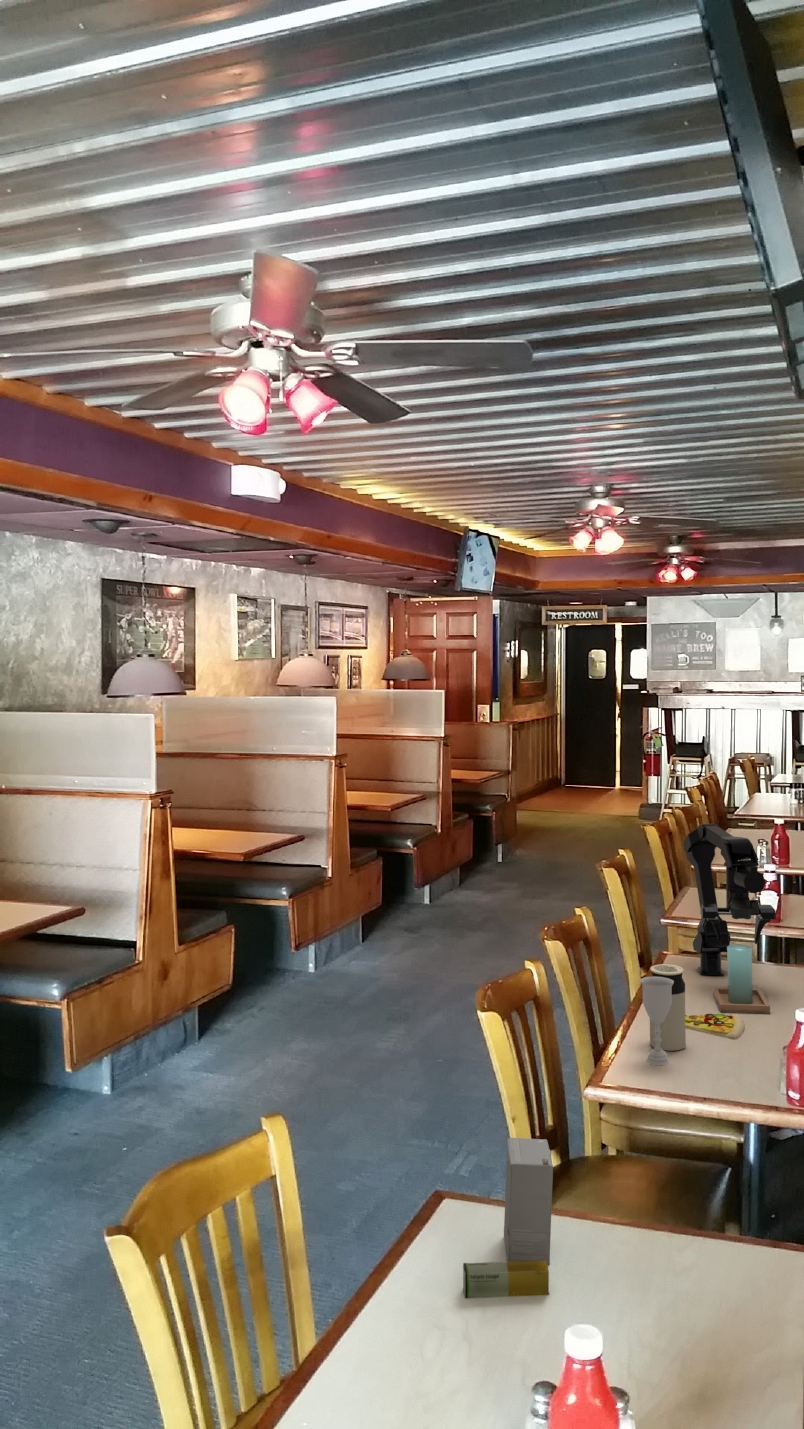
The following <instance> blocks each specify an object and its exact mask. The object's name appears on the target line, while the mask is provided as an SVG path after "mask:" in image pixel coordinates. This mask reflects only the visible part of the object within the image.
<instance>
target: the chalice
mask: <svg viewBox="0 0 804 1429" xmlns="http://www.w3.org/2000/svg"><path fill="white" fill-rule="evenodd" d="M639 981H640V983H641V985H642V1004H643V1007H644V1009H645V1012H646V1014H647V1016H648V1018H649V1021H650V1020H651V1021H652V1022H654V1023H655V1030H654V1032H655V1038H654V1039H653V1040H654V1041H655V1044H656V1045H655V1047H653V1048H652V1049H651V1050H649V1052H648V1054H647V1058H646V1060H645V1061H646V1063H647V1064H650V1065H653V1066H666V1065H669V1064H670V1060H669V1057H668V1055H667V1051H664V1050H662V1049H661V1048H660V1041H662V1039H661V1038H660V1033H661V1030H660V1023H662V1022H664V1020H665V1018H666V1016H667V1014H668V1013H669V1010H670V1007H671V1004H672V985H673V983H674V981H673V980H671V979H669V978H664V977H652V976H645V977H642V978H640V980H639Z"/></svg>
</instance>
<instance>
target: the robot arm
mask: <svg viewBox="0 0 804 1429" xmlns="http://www.w3.org/2000/svg"><path fill="white" fill-rule="evenodd" d="M682 847H683V850H684V852H685V855H686V859H687V860H688V862H689V863H690V864H691V865H692V866H693V868H694V876H695V882H696V890H697V895H698V896H697V897H698V902H699V910H700V912H699V913H700V915H701V918H700V921H699V923H698V924H697V927H696V928H697V934H696V935H695V938H694V939H693V941H692V948H693V951H695V952H696V953H698V954H699V956H700V957H699V958H700V960H699V961H700V962H699V963H700V966H699V967H697V970H698V973H699V975H700V976H722V977H723V976H725V973H724V971H723V968H722V953H727V946H729V945H731V944H730V943H731V935H730V932H729V928H728V922H727V921H726V920H725V919H724V920H723V919H722V917H721V915H722V916H724V915H725V916H731V919H734V920H740V919H741V920H742V919H744V920H750V919H751V918H752V916H755V924H754V935H753V936H754V940H753V941H754V944H755V945H757V944H758V942H759V939H760V936H761V934H762V931H763V930H764V927H765V925H766V924H767V923H771V920H773V921H775V920H776V919H777V912H776V911H777V910H776V909H775V908H774V907H773V906H772V905H771V904H760V903H759V900H758V899H750V897H749V896H750V893H751V894H758V893H760V892H761V891H763V889H764V887H765V885H766V879H765V877H764V875H763V874H762V873H761V872H760V871H758V870H759V869H758V867H759V864H760V863H759V857H758V854H757V852H756V850H755V848H754V845H753V843H752V842H751V840H750V839H749V838H747V837H742V836H734V835H731V834H730V833H728V832H727V831H726V830H724V829H723V828H721V827H720V826H719V825H718V824H716V823H701V824H699V825H698V827H697V828H696V829H695V830H692V831H691V832H690V833H688V834H687V835H686V837H685V838H684V840H683V843H682ZM717 848H718V849H719V850H720V855H721V857H723V860H724V863H723V866H724V867H725V870H726V871H725V883H726V884H725V885H726V886H725V889H726V890H725V894H726V895H725V896H726V902H725V903H726V905H725V906H726V907H718V901H717V895H716V889H715V882H714V876H713V869H712V863H713V861H714V859H715V856H716V849H717Z"/></svg>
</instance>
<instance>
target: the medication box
mask: <svg viewBox="0 0 804 1429" xmlns="http://www.w3.org/2000/svg"><path fill="white" fill-rule="evenodd" d="M462 1264H463V1265H462V1280H463V1281H462V1284H463V1285H462V1288H463V1290H462V1291H463V1293H462V1294H463V1296H464V1299H484V1298H504V1297H505V1298H507V1297H508V1298H510V1297H512V1298H513V1297H514V1298H515V1297H532V1296H549V1295H550V1292H549V1286H550V1285H549V1284H550V1283H549V1281H550V1280H549V1279H550V1274H549V1272H550V1271H549V1270H550V1269H549V1267H548V1266H549V1265H547V1263H546V1261H518V1262H507V1261H497V1262H496V1261H494V1262H490V1261H489V1262H463V1263H462Z"/></svg>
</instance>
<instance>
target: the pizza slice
mask: <svg viewBox="0 0 804 1429" xmlns="http://www.w3.org/2000/svg"><path fill="white" fill-rule="evenodd" d="M686 1029H687V1030H691V1031H696V1032H700V1033H703V1034H709V1035H712V1034H713V1035H712V1036H717V1037H722V1038H727V1039H730V1040H738V1039H739V1038H740V1037H741V1036H742V1035H743V1034H744V1032H745V1024H744V1020H743V1019H742V1017H741V1016H740V1014H739V1013H733V1014H730V1015H728V1014H726V1013H715V1014H714V1013H706V1014H698V1015H697V1014H694V1015H686V1014H685V1030H686Z"/></svg>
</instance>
